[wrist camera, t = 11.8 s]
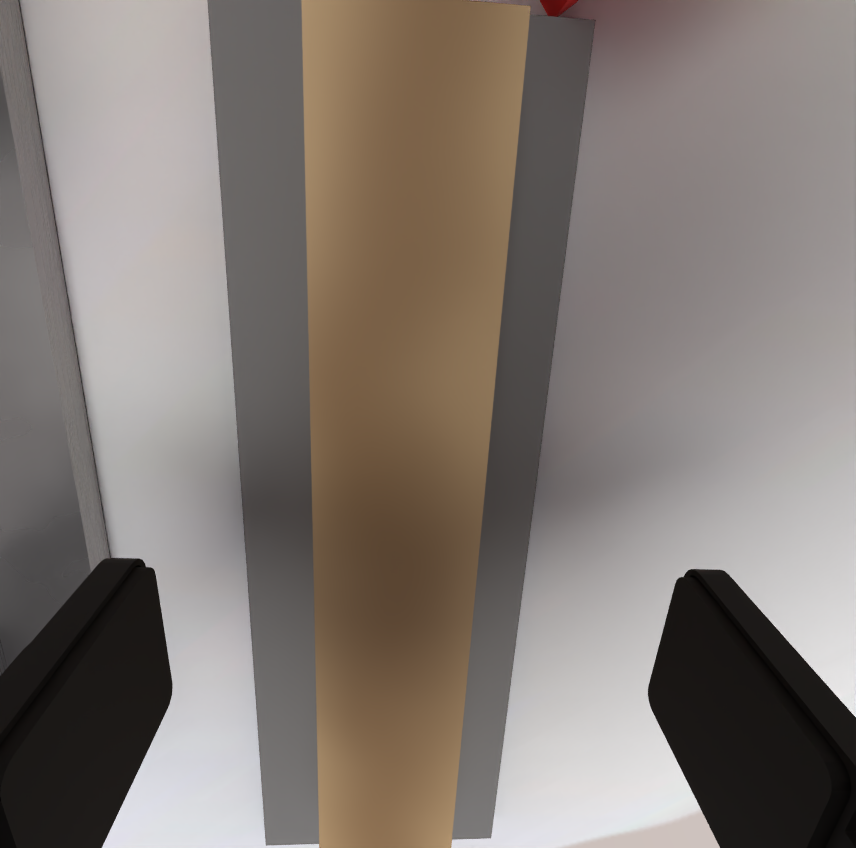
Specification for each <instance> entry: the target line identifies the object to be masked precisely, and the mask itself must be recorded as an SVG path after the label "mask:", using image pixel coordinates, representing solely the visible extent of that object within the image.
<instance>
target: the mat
mask: <svg viewBox="0 0 856 848" xmlns="http://www.w3.org/2000/svg"><path fill="white" fill-rule="evenodd" d="M208 13H209V27H210V42H211V56H212V71H213V85H214V100H215V114H216V129H217V143H218V158H219V172H220V187H221V201H222V216H223V230H224V245H225V259H226V274H227V288H228V303H229V317H230V332H231V346H232V361H233V375H234V390H235V404H236V419H237V433H238V448H239V462H240V477H241V491H242V506H243V520H244V535H245V549H246V564H247V578H248V593H249V607H250V622H251V636H252V651H253V665H254V680H255V694H256V709H257V723H258V738H259V752H260V767H261V781H262V796H263V810H264V825H265V839H266V845H294V844H319V805H318V758H317V711H316V663H315V616H314V569H313V522H312V474H311V427H310V380H309V333H308V285H307V238H306V191H305V144H304V96H303V49H302V2H301V0H208ZM594 27H595V20H589V19H577V18H566V17H554V16H542V15H531V14H530V19H529V30H528V40H527V51H526V61H525V72H524V83H523V93H522V104H521V114H520V125H519V135H518V146H517V157H516V167H515V178H514V188H513V199H512V209H511V220H510V231H509V241H508V252H507V262H506V273H505V283H504V294H503V304H502V315H501V326H500V336H499V347H498V357H497V368H496V378H495V389H494V400H493V410H492V421H491V431H490V442H489V452H488V463H487V474H486V484H485V495H484V505H483V516H482V526H481V537H480V548H479V558H478V569H477V579H476V590H475V600H474V611H473V622H472V632H471V643H470V653H469V664H468V674H467V685H466V695H465V706H464V717H463V727H462V738H461V748H460V759H459V769H458V780H457V791H456V801H455V812H454V822H453V833H452V839H481V838H491V834H492V826H493V818H494V810H495V802H496V794H497V786H498V779H499V771H500V763H501V755H502V747H503V739H504V732H505V724H506V716H507V708H508V700H509V692H510V685H511V677H512V669H513V661H514V653H515V645H516V638H517V630H518V622H519V614H520V606H521V598H522V591H523V583H524V575H525V567H526V559H527V551H528V544H529V536H530V528H531V520H532V512H533V504H534V497H535V489H536V481H537V473H538V465H539V457H540V450H541V442H542V434H543V426H544V418H545V410H546V403H547V395H548V387H549V379H550V371H551V363H552V356H553V348H554V340H555V332H556V324H557V316H558V309H559V301H560V293H561V285H562V277H563V269H564V262H565V254H566V246H567V238H568V230H569V222H570V215H571V207H572V199H573V191H574V183H575V175H576V168H577V160H578V152H579V144H580V136H581V128H582V121H583V113H584V105H585V97H586V89H587V81H588V74H589V66H590V58H591V50H592V42H593V34H594Z"/></svg>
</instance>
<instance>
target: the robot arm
mask: <svg viewBox="0 0 856 848" xmlns="http://www.w3.org/2000/svg"><path fill="white" fill-rule="evenodd" d="M171 696H172V678H171V672H170V665H169V659H168V652H167V646H166V639H165V633H164V626H163V620H162V613H161V607H160V600H159V594H158V587H157V581H156V575H155V571H154V569H153V568H151V567H146V566H145V563H144V562H143V560H141V559H130V558H106V559H103V560H102V561H101V562H100V563H99V564H98V565H97V566H96V567H95V569H94V570H93V571H92V572H91V573H90V574H89V575H88V577H87V578H86V579H85V580H84V581H83V582H82V584H81V585H80V586H79V587H78V588H77V589H76V591H75V592H74V593H73V594H72V595H71V596H70V598H69V599H68V600H67V601H66V602H65V603H64V604H63V606H62V607H61V608H60V609H59V610H58V611H57V613H56V614H55V615H54V616H53V617H52V618H51V620H50V621H49V622H48V623H47V624H46V625H45V627H44V628H43V629H42V630H41V631H40V632H39V634H38V635H37V636H36V637H35V638H34V639H33V640H32V642H31V643H30V644H28V645H27V646H26V647H25V648H24V649H23V650H22V651H21V653H20V654H19V655H18V656H17V657H16V658H15V659H14V661H13V662H12V663H11V664H10V665H9V666H8V668H7V669H6V670H5V671H4V672H3V673H2V674H1V676H0V848H102V846H103V844H104V842H105V840H106V838H107V835H108V833H109V831H110V829H111V827H112V825H113V823H114V821H115V819H116V816H117V814H118V812H119V810H120V808H121V806H122V804H123V802H124V800H125V797H126V795H127V793H128V791H129V789H130V787H131V785H132V783H133V781H134V778H135V776H136V774H137V772H138V770H139V768H140V766H141V764H142V762H143V759H144V757H145V755H146V753H147V751H148V749H149V747H150V745H151V743H152V740H153V738H154V736H155V734H156V732H157V730H158V728H159V726H160V724H161V721H162V719H163V717H164V715H165V713H166V711H167V709H168V706H169V704H170V700H171ZM648 697H649V703H650V706H651V709H652V711H653V713H654V715H655V717H656V719H657V721H658V723H659V725H660V727H661V729H662V731H663V733H664V735H665V737H666V739H667V741H668V743H669V745H670V748H671V750H672V752H673V754H674V756H675V758H676V760H677V762H678V764H679V766H680V768H681V770H682V772H683V774H684V776H685V778H686V780H687V782H688V784H689V786H690V788H691V790H692V792H693V794H694V796H695V798H696V800H697V802H698V804H699V806H700V808H701V810H702V812H703V814H704V816H705V818H706V820H707V822H708V824H709V826H710V828H711V830H712V832H713V834H714V836H715V838H716V840H717V842H718V844H719V846H720V848H856V717H855V716H854V715H853V714H852V713H851V712H850V711H849V710H848V708H847V707H846V706H845V705H844V704H843V703H842V702H841V701H840V699H839V698H838V697H837V696H836V695H835V694H834V693H833V692H832V690H831V689H830V688H829V687H828V686H827V685H826V684H825V683H824V681H823V680H822V679H821V678H820V677H819V676H818V675H817V674H816V672H815V671H814V670H813V669H812V668H811V667H810V666H809V665H808V663H807V662H806V661H805V660H804V659H803V658H802V657H801V656H800V654H799V653H798V652H797V651H796V650H795V649H794V648H793V647H792V645H791V644H790V643H789V642H788V641H787V640H786V639H785V638H784V636H783V635H782V634H781V633H780V632H779V631H778V630H777V629H776V627H775V626H774V625H773V624H772V623H771V622H770V621H769V620H768V618H767V617H766V616H765V615H764V614H763V613H762V612H761V611H760V609H759V608H758V607H757V606H756V605H755V604H754V603H753V602H752V600H751V599H750V598H749V597H748V596H747V595H746V594H745V593H744V591H743V590H742V589H741V588H740V587H739V586H738V585H737V584H736V582H735V581H734V580H733V579H732V578H731V577H730V576H729V575H728V574H727V573H726V572H725V571H722V570H703V569H691V570H688V571H687V572H686V574H685V576H684V577H681V578H679V579H678V580H677V581H676V584H675V587H674V591H673V595H672V599H671V603H670V606H669V610H668V614H667V618H666V622H665V625H664V629H663V633H662V637H661V641H660V645H659V648H658V652H657V656H656V660H655V664H654V667H653V671H652V675H651V679H650V683H649V687H648Z"/></svg>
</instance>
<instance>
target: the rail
mask: <svg viewBox="0 0 856 848" xmlns="http://www.w3.org/2000/svg"><path fill="white" fill-rule="evenodd" d="M301 2H302V49H303V96H304V144H305V191H306V238H307V285H308V333H309V380H310V427H311V474H312V522H313V569H314V616H315V663H316V711H317V758H318V805H319V848H451V843H452V833H453V822H454V812H455V801H456V791H457V780H458V769H459V759H460V748H461V738H462V727H463V717H464V706H465V695H466V685H467V674H468V664H469V653H470V643H471V632H472V622H473V611H474V600H475V590H476V579H477V569H478V558H479V548H480V537H481V526H482V516H483V505H484V495H485V484H486V474H487V463H488V452H489V442H490V431H491V421H492V410H493V400H494V389H495V378H496V368H497V357H498V347H499V336H500V326H501V315H502V304H503V294H504V283H505V273H506V262H507V252H508V241H509V231H510V220H511V209H512V199H513V188H514V178H515V167H516V157H517V146H518V135H519V125H520V114H521V104H522V93H523V83H524V72H525V61H526V51H527V40H528V30H529V19H530V9H531V6H526V5H515V4H503V3H492V2H481V1H469V0H301Z"/></svg>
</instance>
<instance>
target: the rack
mask: <svg viewBox="0 0 856 848" xmlns="http://www.w3.org/2000/svg"><path fill="white" fill-rule="evenodd" d="M106 558H110V554H109V548H108V542H107V536H106V530H105V524H104V518H103V512H102V506H101V499H100V493H99V487H98V481H97V475H96V469H95V463H94V457H93V451H92V445H91V439H90V433H89V426H88V420H87V414H86V408H85V402H84V396H83V390H82V384H81V378H80V372H79V366H78V359H77V353H76V347H75V341H74V335H73V329H72V323H71V317H70V311H69V305H68V299H67V293H66V286H65V280H64V274H63V268H62V262H61V256H60V250H59V244H58V238H57V232H56V226H55V219H54V213H53V207H52V201H51V195H50V189H49V183H48V177H47V171H46V165H45V159H44V153H43V146H42V140H41V134H40V128H39V122H38V116H37V110H36V104H35V98H34V92H33V86H32V79H31V73H30V67H29V61H28V55H27V49H26V43H25V37H24V31H23V25H22V19H21V13H20V6H19V0H0V676H1V674H2V673H3V672H4V671H5V670H6V669H7V668H8V666H9V665H10V664H11V663H12V662H13V661H14V659H15V658H16V657H17V656H18V655H19V654H20V653H21V651H22V650H23V649H24V648H25V647H26V646H27V645H28V644H30V643H31V642H32V640H33V639H34V638H35V637H36V636H37V635H38V634H39V632H40V631H41V630H42V629H43V628H44V627H45V625H46V624H47V623H48V622H49V621H50V620H51V618H52V617H53V616H54V615H55V614H56V613H57V611H58V610H59V609H60V608H61V607H62V606H63V604H64V603H65V602H66V601H67V600H68V599H69V598H70V596H71V595H72V594H73V593H74V592H75V591H76V589H77V588H78V587H79V586H80V585H81V584H82V582H83V581H84V580H85V579H86V578H87V577H88V575H89V574H90V573H91V572H92V571H93V570H94V569H95V567H96V566H97V565H98V564H99V563H100V562H101V561H102V560H103V559H106Z"/></svg>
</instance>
